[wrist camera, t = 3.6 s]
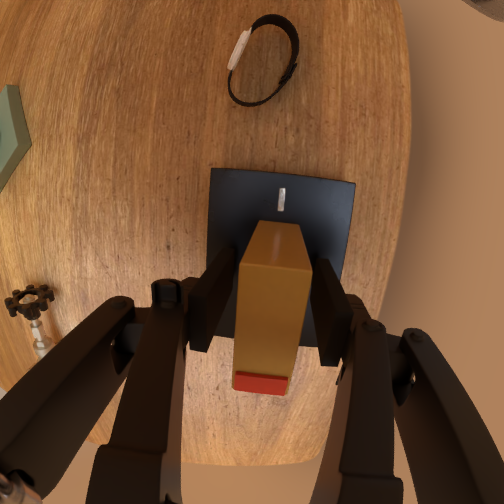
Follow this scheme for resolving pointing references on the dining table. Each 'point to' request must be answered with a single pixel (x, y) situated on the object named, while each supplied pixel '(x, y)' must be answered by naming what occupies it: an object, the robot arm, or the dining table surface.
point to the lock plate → (277, 210)
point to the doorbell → (11, 132)
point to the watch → (242, 42)
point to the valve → (33, 314)
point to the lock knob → (270, 308)
